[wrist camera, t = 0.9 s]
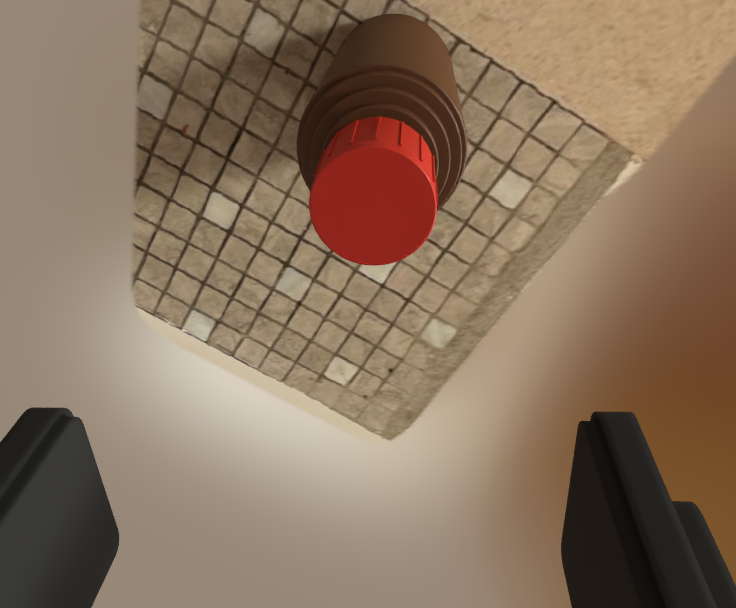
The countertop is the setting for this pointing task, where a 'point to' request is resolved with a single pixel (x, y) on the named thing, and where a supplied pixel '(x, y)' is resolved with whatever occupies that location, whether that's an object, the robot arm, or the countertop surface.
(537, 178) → the countertop surface
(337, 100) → the sauce bottle
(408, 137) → the cap
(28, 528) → the robot arm
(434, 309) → the countertop surface
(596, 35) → the countertop surface
